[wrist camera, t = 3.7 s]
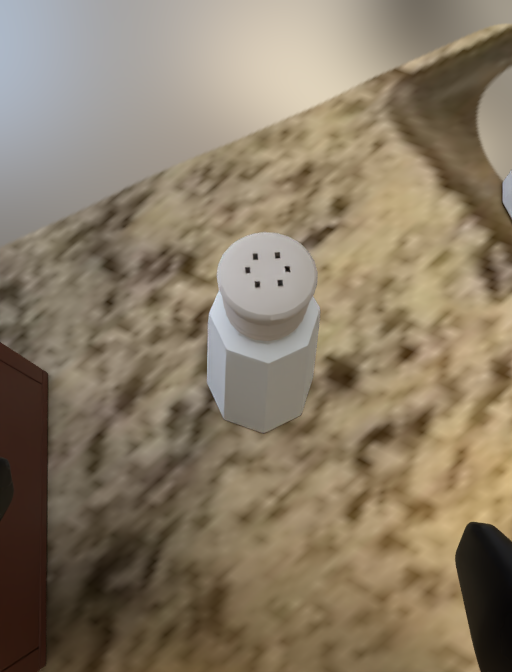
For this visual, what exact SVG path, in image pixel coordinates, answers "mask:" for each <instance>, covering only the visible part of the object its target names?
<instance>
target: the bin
mask: <svg viewBox="0 0 512 672" xmlns="http://www.w3.org/2000/svg"><path fill="white" fill-rule="evenodd" d="M47 400H48V373H47V372H45V371H44V370H42V369H41V368H39V367H38V366H36V365H35V364H33V363H32V362H30V361H28V360H27V359H25V358H24V357H22V356H21V355H19V354H18V353H16V352H15V351H13V350H12V349H10V348H8V347H7V346H5V345H4V344H2V343H1V342H0V457H2V458H5V459H7V460H8V462H9V464H10V469H11V475H12V481H13V487H14V494H13V498H12V501H11V503H10V505H9V507H8V509H7V511H6V512H5V514H4V516H3V518H2V520H1V521H0V672H38V671H39V670H40V669H42V668H43V667H44V666H45V665H46V565H47Z"/></svg>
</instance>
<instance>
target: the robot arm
mask: <svg viewBox="0 0 512 672" xmlns="http://www.w3.org/2000/svg"><path fill="white" fill-rule="evenodd" d="M13 494H14V487H13V481H12V475H11V469H10V464H9V462H8V460H7V459H5V458H2V457H0V521H1V520H2V518H3V516H4V514H5V512H6V511H7V509H8V507H9V505H10V503H11V501H12V498H13ZM455 562H456V568H457V573H458V578H459V582H460V587H461V592H462V596H463V601H464V605H465V610H466V615H467V619H468V624H469V629H470V633H471V638H472V642H473V646H474V650H475V654H476V658H477V661H478V664H479V668H480V671H481V672H512V541H511V540H509V539H508V538H507V537H506V536H505V535H504V534H503V533H502V532H501V531H499V530H498V529H497V528H496V527H495V526H493V525H491V524H486V523H478V522H470V523H468V524H467V526H466V528H465V530H464V533H463V535H462V538H461V540H460V543H459V545H458V548H457V551H456V555H455Z"/></svg>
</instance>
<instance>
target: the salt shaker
mask: <svg viewBox="0 0 512 672" xmlns="http://www.w3.org/2000/svg"><path fill="white" fill-rule="evenodd" d="M217 281H218V286H219V292H218V294H217V296H216V299H215V301H214V303H213V306H212V308H211V310H210V313H209V319H208V354H207V384H208V386H209V388H210V390H211V392H212V395H213V397H214V399H215V401H216V403H217V406H218V408H219V410H220V412H221V414H222V417H223V419H224V420H227V421H230V422H232V423H235V424H238V425H241V426H244V427H247V428H249V429H252V430H255V431H258V432H261V433H266V432H268V431H270V430H272V429H274V428H276V427H278V426H280V425H282V424H284V423H286V422H288V421H290V420H292V419H294V418H296V417H298V416H301V414H302V411H303V408H304V405H305V402H306V398H307V395H308V392H309V389H310V385H311V382H312V379H313V374H314V365H315V357H316V348H317V340H318V331H319V323H320V307H319V305H318V304H317V302H316V300H315V299H314V297H313V295H314V292H315V289H316V286H317V269H316V265H315V261H314V260H313V258H312V256H311V255H310V253H309V251H308V250H307V249H306V248H305V247H303V246H302V245H301V244H300V243H299V242H297V241H296V240H294V239H292V238H290V237H288V236H285V235H282V234H278V233H268V232H262V233H256V234H251V235H248V236H246V237H243V238H241V239H239V240H238V241H236V242H235V243H233V244H232V245H231V246H230V247H229V248H228V249H227V250H226V252H225V253H224V254H223V256H222V258H221V260H220V262H219V265H218V271H217Z"/></svg>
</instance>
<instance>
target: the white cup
mask: <svg viewBox="0 0 512 672" xmlns="http://www.w3.org/2000/svg"><path fill="white" fill-rule="evenodd" d="M503 204H504V206H505V208H506V209H507V211H508V213H509V215H510V217H511V218H512V170H511V171H510V173H509V174H508V175H507V177H506V178H505V180H504V181H503Z"/></svg>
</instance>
